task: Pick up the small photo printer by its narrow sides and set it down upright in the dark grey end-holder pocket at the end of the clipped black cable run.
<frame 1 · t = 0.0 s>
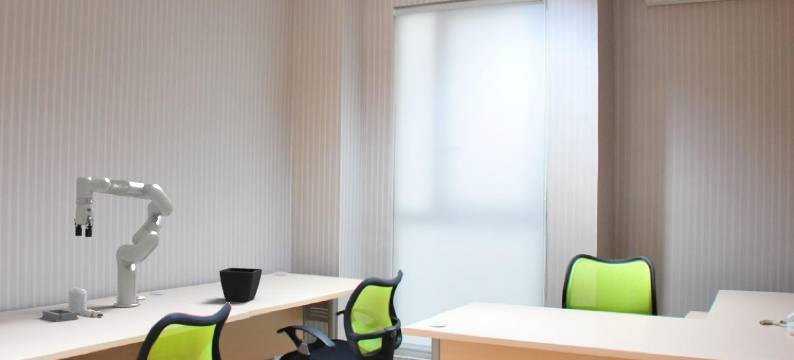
hand: (83, 236, 358), 37 cm above the table, tool pointing down, fingers open, 9 cm apart
cable run: (92, 315, 344), on the table
end holder: (59, 318, 335), on the table
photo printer: (77, 313, 351), on the table
flower pot: (240, 300, 401), on the table
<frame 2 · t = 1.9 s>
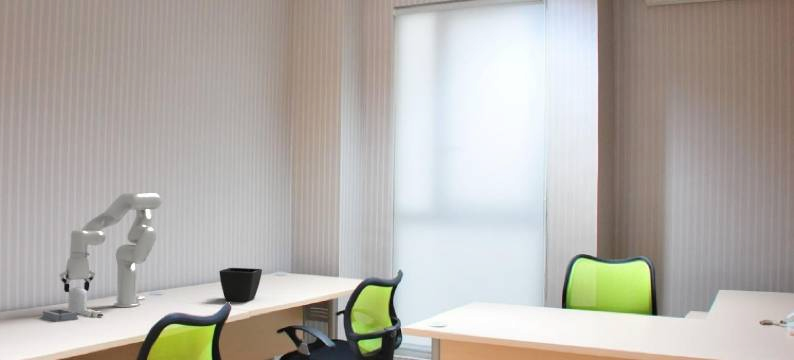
hand: (76, 291, 351), 11 cm above the table, tool pointing down, fingers open, 9 cm apart
nothing on the table moved.
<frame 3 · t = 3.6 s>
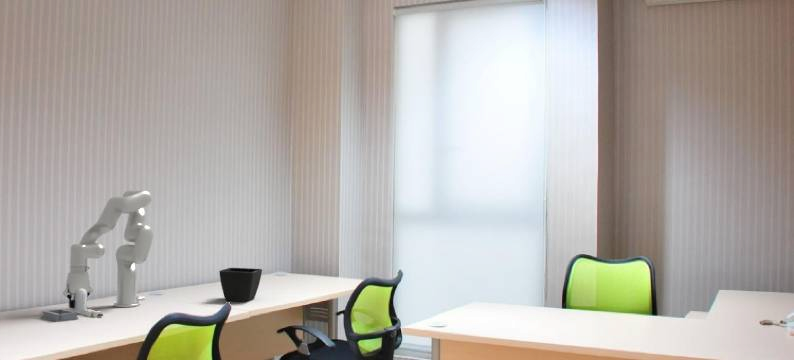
hand: (77, 306, 351), 3 cm above the table, tool pointing down, fingers closed on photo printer, 4 cm apart
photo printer: (77, 313, 351), on the table, touching gripper
everything else where it was.
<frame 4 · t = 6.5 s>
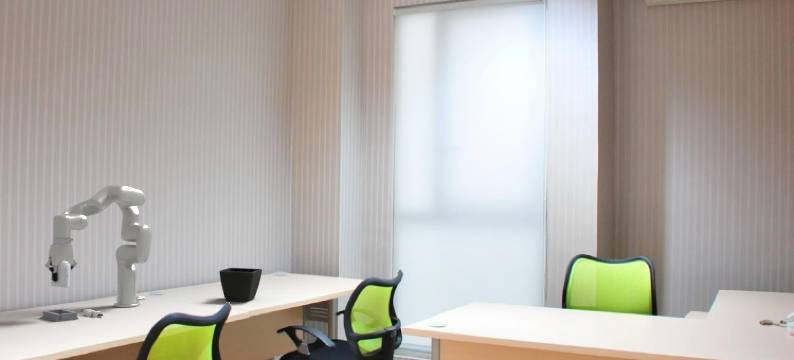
hand: (60, 280, 336), 18 cm above the table, tool pointing down, fingers closed on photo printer, 4 cm apart
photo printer: (60, 287, 336), point 15 cm above the table, touching gripper
everything else where it was.
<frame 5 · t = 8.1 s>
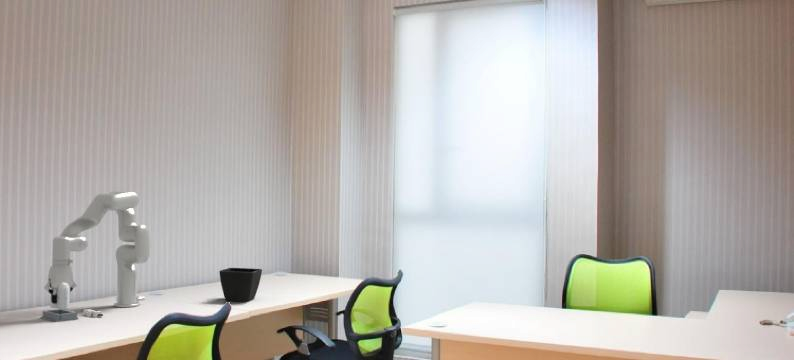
hand: (60, 302, 336), 8 cm above the table, tool pointing down, fingers closed on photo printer, 4 cm apart
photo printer: (59, 308, 336), point 4 cm above the table, touching gripper
everything else where it was.
when the fingers open (5 cm above the table, at t = 9.4 s): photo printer drops 1 cm, resting on end holder.
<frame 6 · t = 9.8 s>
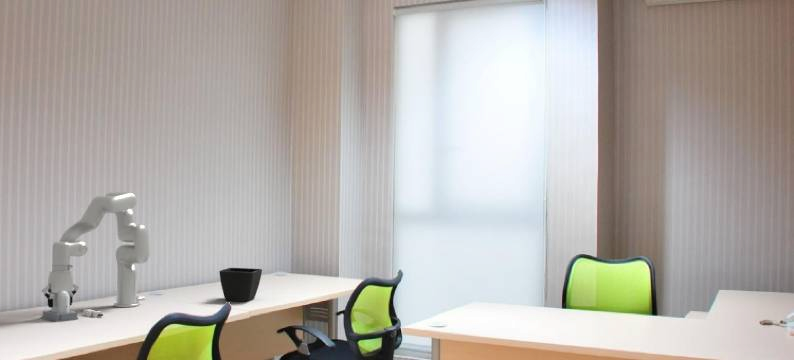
hand: (60, 306, 336), 6 cm above the table, tool pointing down, fingers open, 8 cm apart
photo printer: (60, 317, 336), point 1 cm above the table, touching end holder
everything else where it was.
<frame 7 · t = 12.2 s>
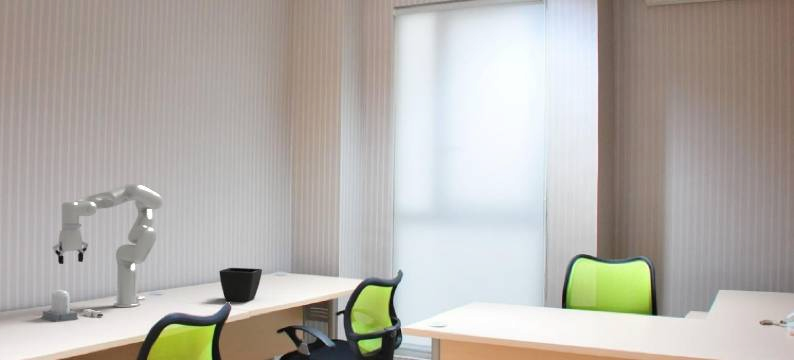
hand: (70, 262, 350), 24 cm above the table, tool pointing down, fingers open, 9 cm apart
nothing on the table moved.
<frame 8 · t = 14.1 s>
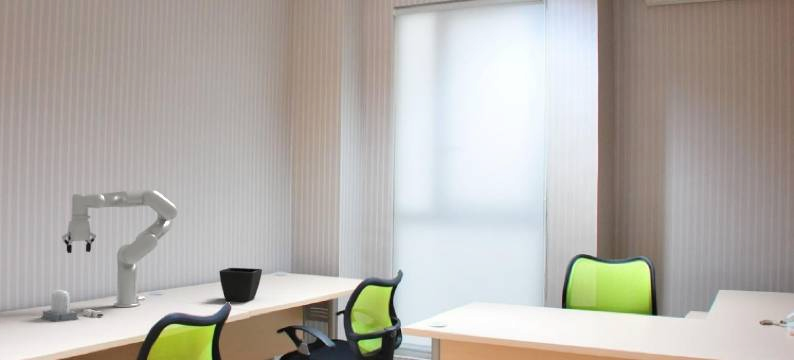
hand: (78, 252, 364), 28 cm above the table, tool pointing down, fingers open, 9 cm apart
nothing on the table moved.
at the end: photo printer 0.3 cm off-centre on the end holder, point 0.6 cm above the end holder's base; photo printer tilted 0°; the gripper is holding nothing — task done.
